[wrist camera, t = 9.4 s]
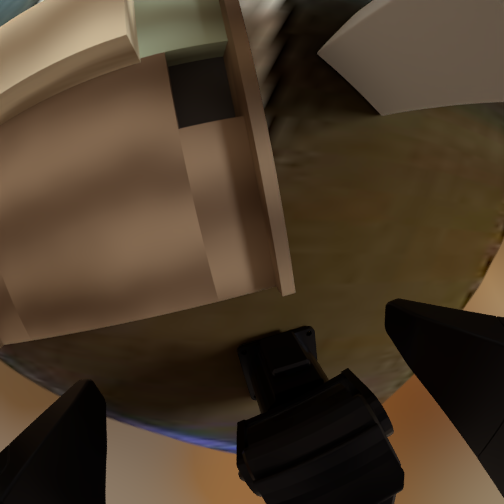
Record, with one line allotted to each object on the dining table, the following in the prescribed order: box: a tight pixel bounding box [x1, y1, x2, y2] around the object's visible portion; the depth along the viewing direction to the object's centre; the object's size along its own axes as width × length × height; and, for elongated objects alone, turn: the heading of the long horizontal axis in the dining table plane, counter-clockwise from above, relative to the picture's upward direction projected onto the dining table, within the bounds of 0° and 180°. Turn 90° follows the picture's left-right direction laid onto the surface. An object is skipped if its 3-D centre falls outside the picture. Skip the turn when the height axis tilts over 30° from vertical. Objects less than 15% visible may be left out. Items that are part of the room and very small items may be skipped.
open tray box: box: [0, 0, 296, 349], centre depth 14 cm, size 22×24×4 cm
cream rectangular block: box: [0, 0, 141, 125], centre depth 9 cm, size 5×12×4 cm, turn 101°
